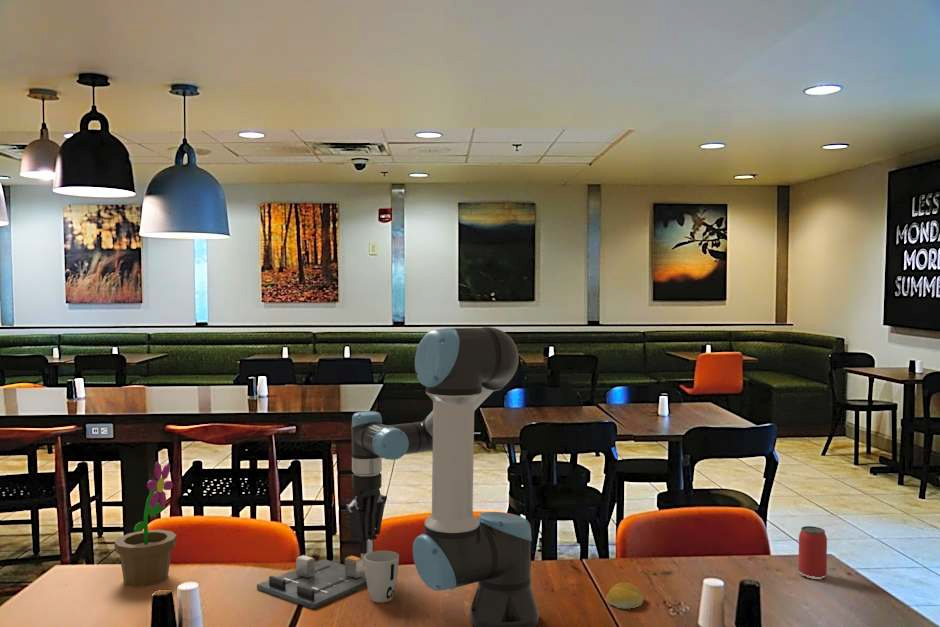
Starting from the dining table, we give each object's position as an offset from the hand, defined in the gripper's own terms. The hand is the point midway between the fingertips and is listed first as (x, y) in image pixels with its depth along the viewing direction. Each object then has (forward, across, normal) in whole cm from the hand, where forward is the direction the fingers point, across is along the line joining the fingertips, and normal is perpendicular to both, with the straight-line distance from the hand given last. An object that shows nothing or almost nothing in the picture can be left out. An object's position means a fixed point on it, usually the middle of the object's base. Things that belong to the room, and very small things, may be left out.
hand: (366, 564), depth 194 cm
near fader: (+1, +5, 0) cm, 5 cm away
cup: (+3, +8, +13) cm, 16 cm away
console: (+3, +12, -5) cm, 13 cm away
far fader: (+1, +12, -10) cm, 15 cm away
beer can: (+3, -68, +92) cm, 114 cm away
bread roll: (+3, -24, +60) cm, 65 cm away
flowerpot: (+3, +35, -43) cm, 55 cm away
